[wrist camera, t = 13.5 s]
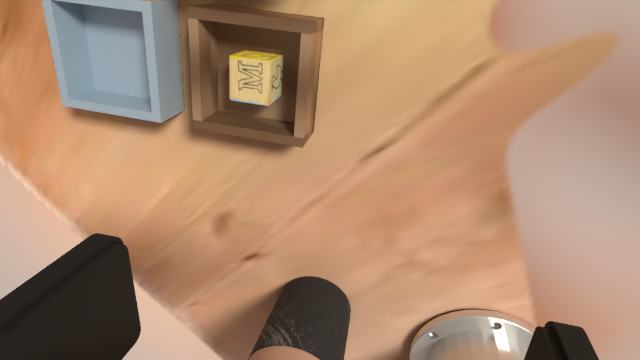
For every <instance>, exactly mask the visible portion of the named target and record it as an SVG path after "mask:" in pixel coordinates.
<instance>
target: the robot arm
mask: <svg viewBox="0 0 640 360" xmlns="http://www.w3.org/2000/svg"><path fill="white" fill-rule="evenodd" d="M140 331H141V327H140V320H139V314H138V308H137V302H136V296H135V290H134V283H133V277H132V271H131V265H130V259H129V253H128V249H127V247H126V245H124V244H123V241H122V240H121V239H120V238H118V237H114V236H109V235H104V234H93V235H91V236H89V237H88V238H87V239H85V240H84V241H82V242H81V243H80V244H78V245H77V246H75V247H74V248H72V249H71V250H70V251H68V252H67V253H66V254H64V255H63V256H61V257H60V258H58V259H57V260H56V261H54V262H53V263H51V264H50V265H49V266H47V267H46V268H44V269H43V270H41V271H40V272H39V273H37V274H36V275H34V276H33V277H32V278H30V279H29V280H27V281H26V282H25V283H23V284H22V285H20V286H19V287H18V288H16V289H15V290H13V291H12V292H11V293H9V294H8V295H6V296H5V297H3V298H2V299H1V300H0V360H122V359H123V357H124V356H125V355H126V354H127V352H128V351H129V350H130V349H131V348H132V347H133V345H134V344H135V343H136V341H137V340H138V338H139V335H140ZM409 360H599V359H598V357H597V355H596V353H595V351H594V349H593V347H592V345H591V343H590V341H589V339H588V336H587V334H586V333H585V331H584V330H583V328H581V327H578V326H573V325H568V324H563V323H558V322H552V321H549V322H547V323H546V325H545V327H540V326H539V327H537V328H536V329H534V328H532V327H531V326H529V325H528V324H526V323H525V322H523V321H521V320H519V319H517V318H514V317H512V316H510V315H507V314H503V313H499V312H495V311H488V310H462V311H456V312H451V313H448V314H445V315H442V316H439V317H437V318H435V319H433V320H431V321H430V322H428V323H427V324H426V325H424V326H423V327H422V328H421V329H420V330H419V331H418V332H417V334H416V335H415V336H414V338H413V341H412V343H411V345H410V352H409Z"/></svg>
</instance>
